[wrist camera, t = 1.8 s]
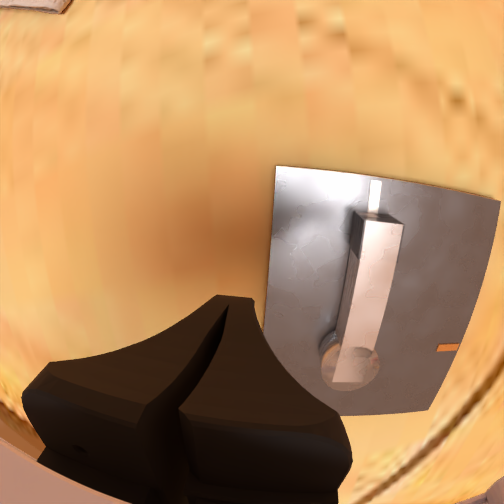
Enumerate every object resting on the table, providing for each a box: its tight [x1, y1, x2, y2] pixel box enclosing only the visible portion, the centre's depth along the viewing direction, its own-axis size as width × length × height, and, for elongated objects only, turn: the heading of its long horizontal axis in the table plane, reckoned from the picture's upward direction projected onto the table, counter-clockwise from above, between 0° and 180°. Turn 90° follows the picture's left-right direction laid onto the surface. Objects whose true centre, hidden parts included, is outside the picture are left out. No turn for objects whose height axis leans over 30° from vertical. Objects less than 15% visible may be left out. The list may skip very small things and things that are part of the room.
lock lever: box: [319, 211, 405, 391], centre depth 17 cm, size 11×4×2 cm, turn 177°
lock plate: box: [263, 165, 501, 416], centre depth 19 cm, size 15×18×1 cm
